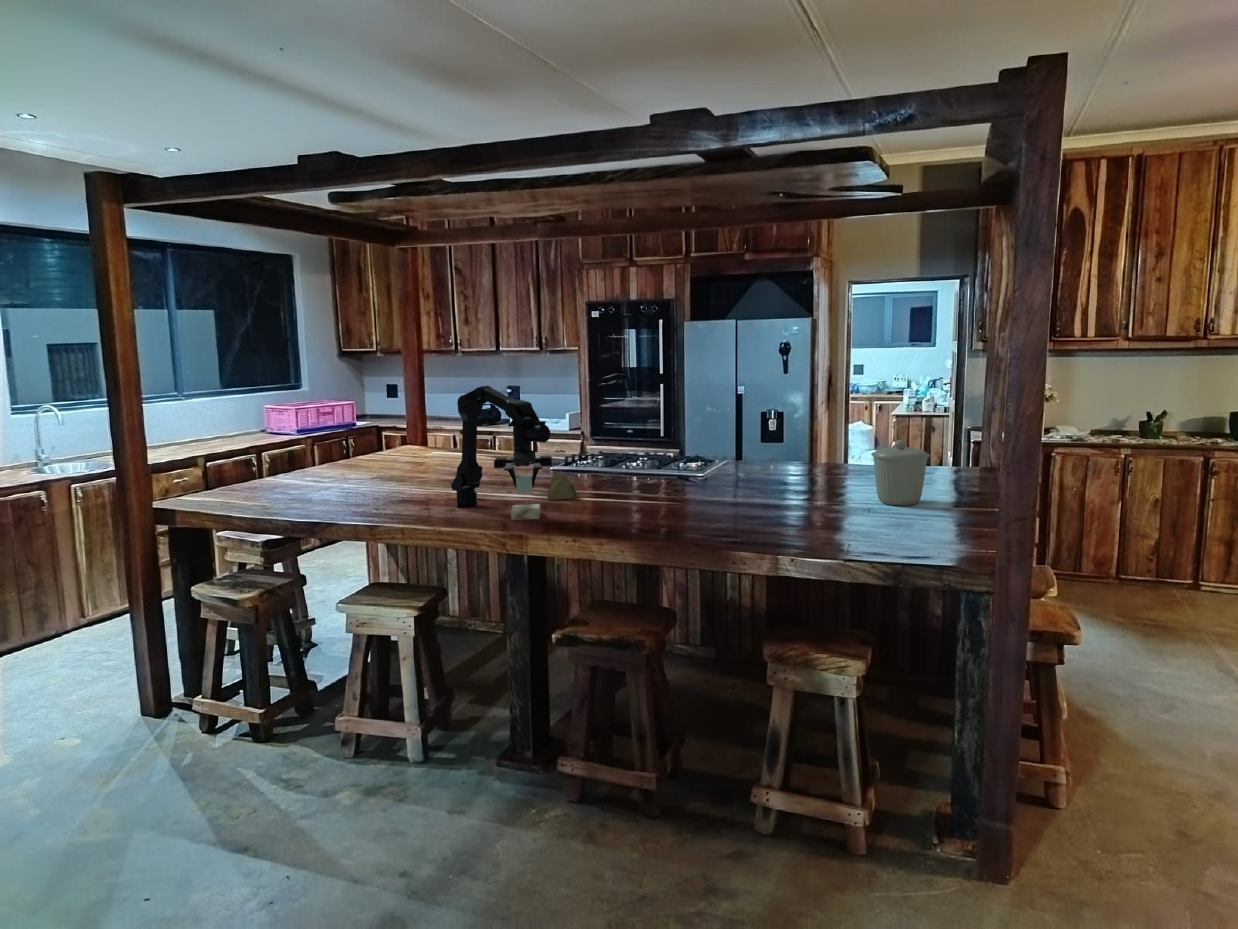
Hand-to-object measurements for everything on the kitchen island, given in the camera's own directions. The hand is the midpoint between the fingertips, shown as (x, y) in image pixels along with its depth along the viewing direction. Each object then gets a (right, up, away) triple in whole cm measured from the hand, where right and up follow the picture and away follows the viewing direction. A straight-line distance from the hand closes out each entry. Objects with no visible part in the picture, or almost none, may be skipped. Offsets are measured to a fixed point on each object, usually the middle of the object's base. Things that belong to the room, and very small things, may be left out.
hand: (524, 487), depth 265 cm
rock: (+11, -5, +29) cm, 31 cm away
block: (0, -1, 0) cm, 1 cm away
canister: (+124, -5, +4) cm, 125 cm away
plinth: (0, -9, +1) cm, 10 cm away
